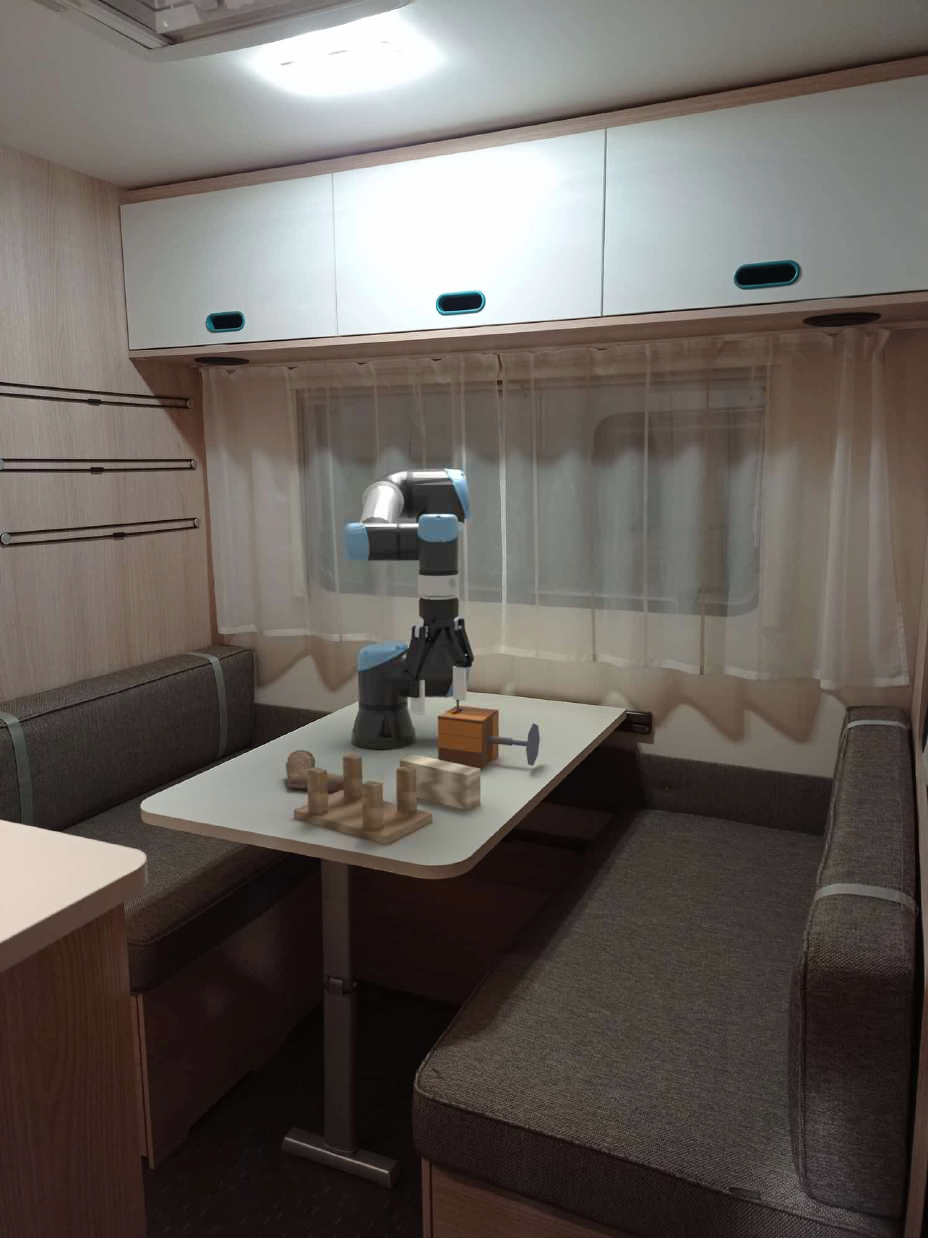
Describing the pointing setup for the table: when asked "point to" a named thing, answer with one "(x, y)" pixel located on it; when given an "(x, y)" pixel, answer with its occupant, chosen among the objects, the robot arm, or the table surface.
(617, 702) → the table surface
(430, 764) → the cream wooden block
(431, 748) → the table surface
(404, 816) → the wooden block assembly
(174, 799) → the table surface
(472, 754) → the wooden box with plunger
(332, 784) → the pipe
